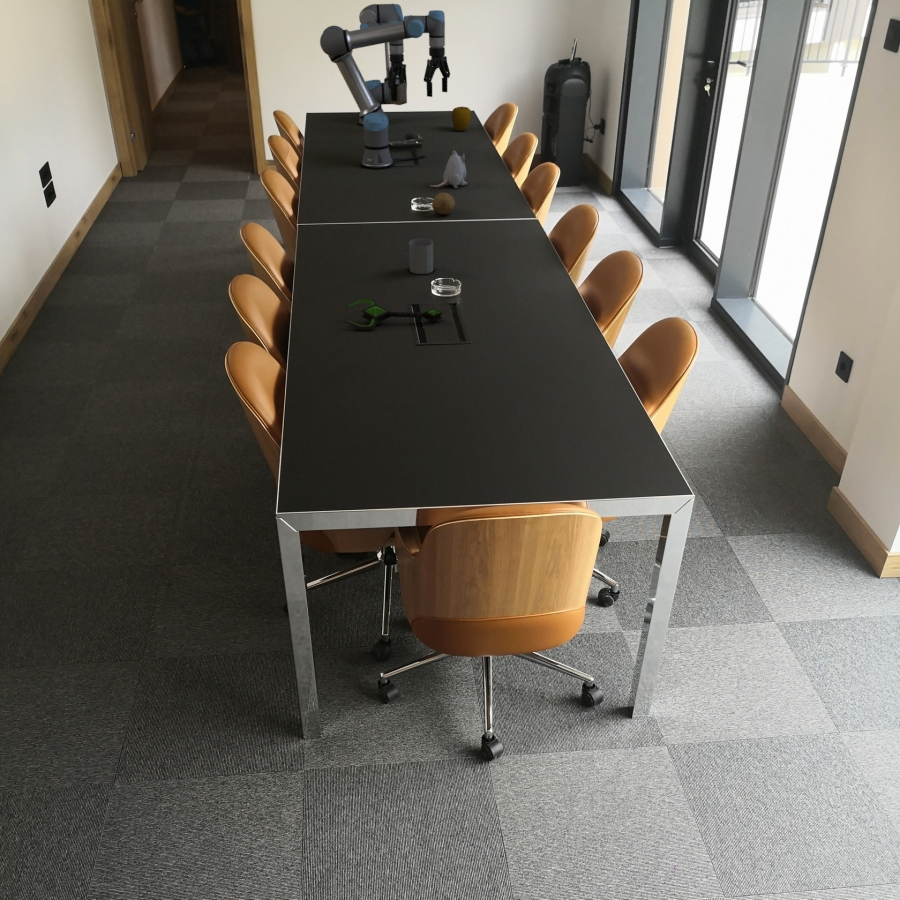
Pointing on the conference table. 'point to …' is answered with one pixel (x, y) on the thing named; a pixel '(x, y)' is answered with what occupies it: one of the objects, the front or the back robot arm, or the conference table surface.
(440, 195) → the potato
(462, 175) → the toy
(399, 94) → the block
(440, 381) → the conference table surface
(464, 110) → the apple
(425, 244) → the cup
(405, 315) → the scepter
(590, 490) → the conference table surface
